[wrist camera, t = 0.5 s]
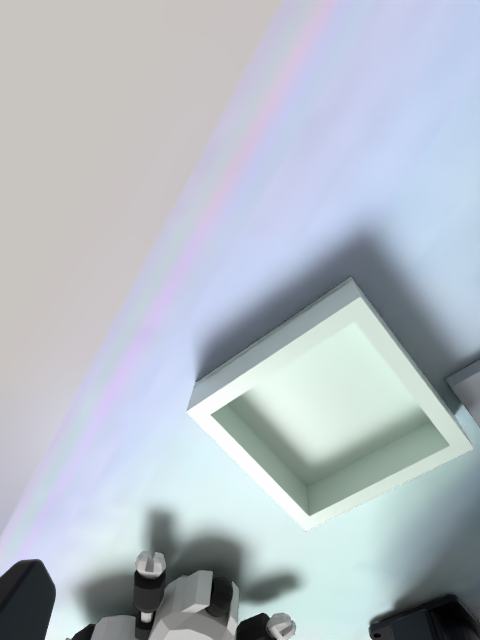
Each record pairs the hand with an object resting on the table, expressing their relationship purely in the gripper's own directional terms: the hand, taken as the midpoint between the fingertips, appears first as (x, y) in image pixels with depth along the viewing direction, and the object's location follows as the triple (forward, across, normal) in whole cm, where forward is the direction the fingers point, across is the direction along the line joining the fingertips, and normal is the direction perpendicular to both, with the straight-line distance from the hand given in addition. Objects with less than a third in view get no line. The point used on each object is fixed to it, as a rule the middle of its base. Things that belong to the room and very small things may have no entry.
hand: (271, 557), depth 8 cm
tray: (+14, -2, +6) cm, 16 cm away
